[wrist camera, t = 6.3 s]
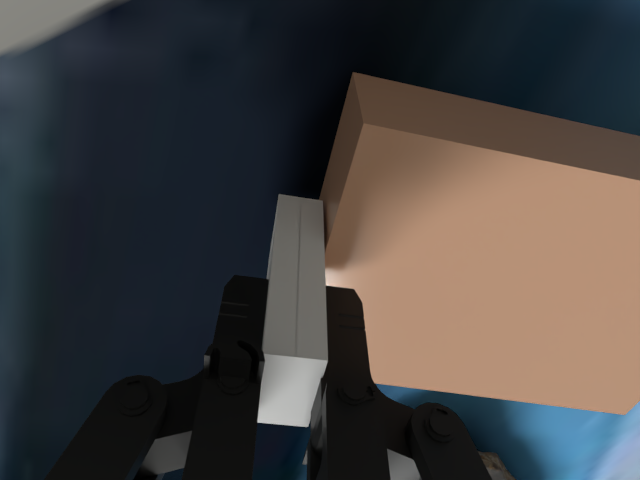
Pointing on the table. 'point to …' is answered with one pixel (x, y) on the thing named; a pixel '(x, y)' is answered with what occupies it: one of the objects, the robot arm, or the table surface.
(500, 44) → the table surface
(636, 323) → the tile
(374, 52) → the table surface
